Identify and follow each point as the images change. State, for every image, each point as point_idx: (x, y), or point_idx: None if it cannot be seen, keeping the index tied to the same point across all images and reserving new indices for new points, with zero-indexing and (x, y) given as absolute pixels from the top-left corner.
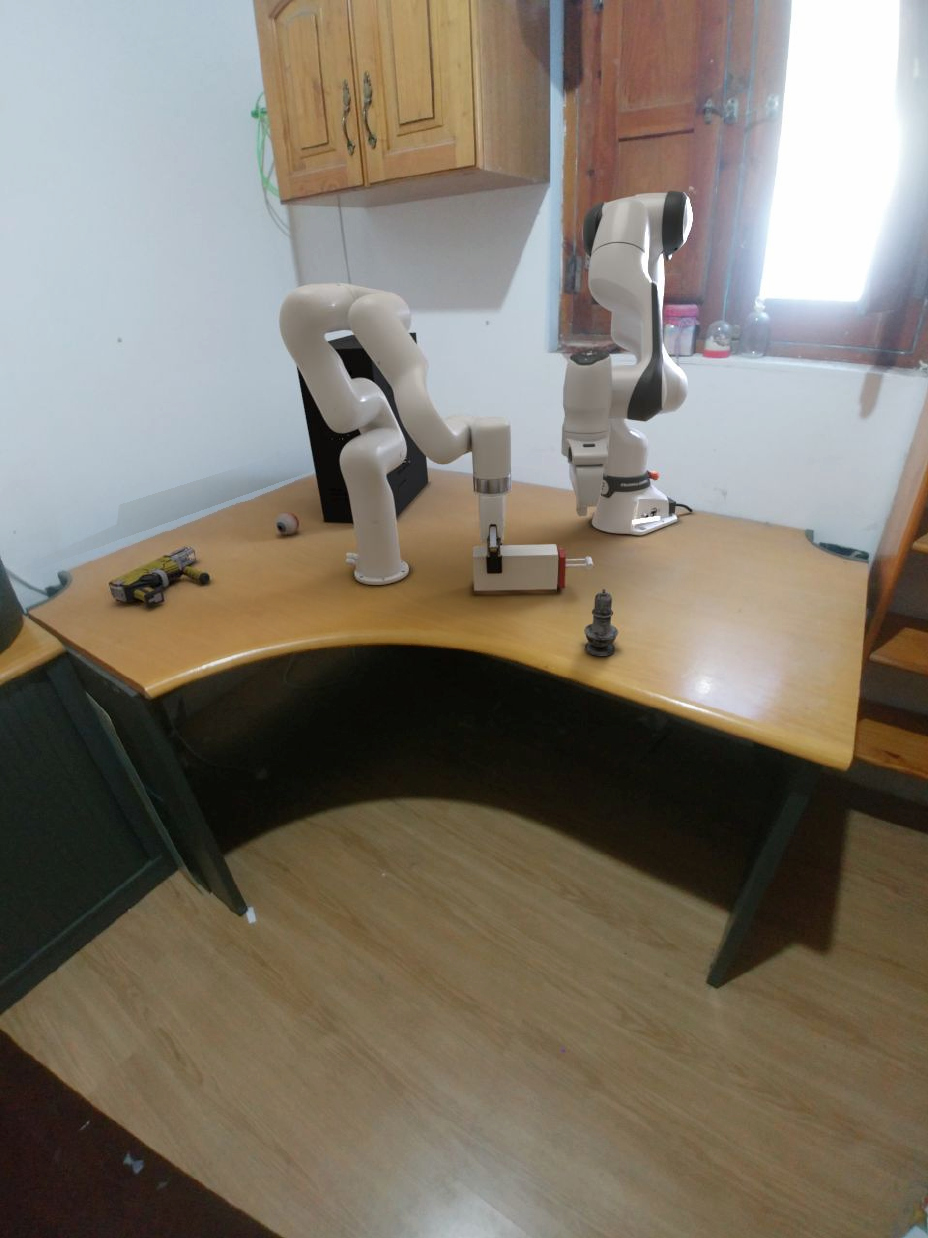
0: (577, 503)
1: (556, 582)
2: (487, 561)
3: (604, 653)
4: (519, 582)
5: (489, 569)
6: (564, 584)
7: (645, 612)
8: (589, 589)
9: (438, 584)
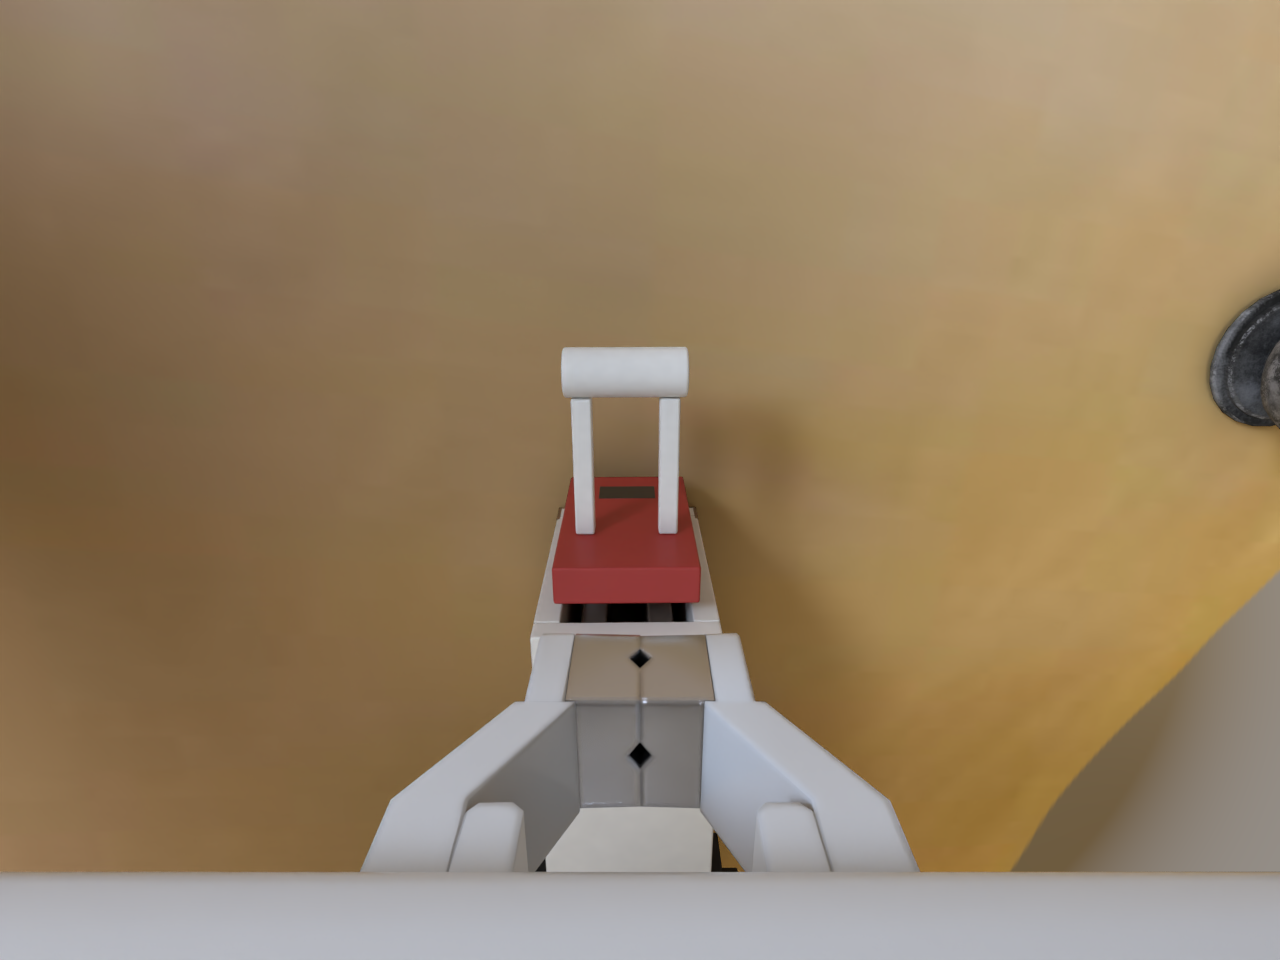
0: (573, 808)
1: (701, 538)
2: None
3: None
4: None
5: None
6: (684, 486)
7: (984, 20)
8: (656, 330)
9: None
